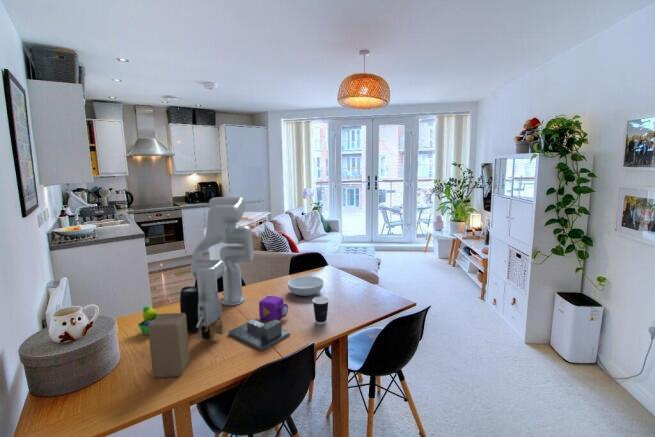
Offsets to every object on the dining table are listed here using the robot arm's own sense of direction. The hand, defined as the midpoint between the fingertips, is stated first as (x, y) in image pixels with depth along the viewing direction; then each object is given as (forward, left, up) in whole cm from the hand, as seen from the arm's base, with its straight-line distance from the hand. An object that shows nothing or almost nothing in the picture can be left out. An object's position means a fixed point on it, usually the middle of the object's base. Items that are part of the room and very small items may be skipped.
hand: (211, 334), depth 140 cm
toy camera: (+5, +32, -3) cm, 32 cm away
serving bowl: (-4, +65, -3) cm, 65 cm away
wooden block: (+6, -20, -3) cm, 22 cm away
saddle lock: (0, 0, -1) cm, 1 cm away
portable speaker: (-16, +1, -3) cm, 16 cm away
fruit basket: (-30, -10, -3) cm, 32 cm away
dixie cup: (+26, +42, -3) cm, 49 cm away
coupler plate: (+12, +16, -3) cm, 20 cm away
